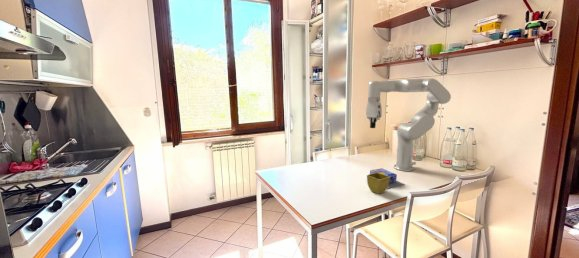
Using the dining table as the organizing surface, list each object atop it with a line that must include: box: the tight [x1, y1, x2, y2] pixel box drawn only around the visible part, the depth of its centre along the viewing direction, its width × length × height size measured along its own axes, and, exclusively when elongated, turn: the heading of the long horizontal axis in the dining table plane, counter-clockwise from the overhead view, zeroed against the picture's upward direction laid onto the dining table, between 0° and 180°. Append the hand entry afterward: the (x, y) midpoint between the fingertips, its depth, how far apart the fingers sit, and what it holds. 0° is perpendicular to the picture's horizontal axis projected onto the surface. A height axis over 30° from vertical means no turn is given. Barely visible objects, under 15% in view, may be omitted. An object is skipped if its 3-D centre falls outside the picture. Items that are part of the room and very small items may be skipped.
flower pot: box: [366, 173, 390, 195], centre depth 136 cm, size 9×9×9 cm
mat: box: [386, 180, 405, 190], centre depth 149 cm, size 14×15×1 cm
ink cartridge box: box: [369, 168, 398, 184], centre depth 150 cm, size 10×6×14 cm
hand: (372, 127), depth 167 cm, fingers closed
